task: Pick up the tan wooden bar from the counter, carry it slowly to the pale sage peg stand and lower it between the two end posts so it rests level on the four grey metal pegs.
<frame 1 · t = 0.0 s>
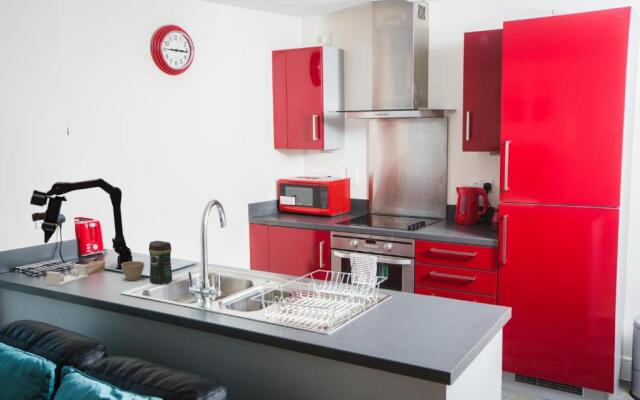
hand: (46, 241, 282), 15 cm above the counter, tool pointing down, fingers open, 9 cm apart
coffee jar: (161, 282, 270), on the counter
stand: (67, 280, 272), on the counter
tan wooden bar: (92, 273, 287), on the counter
flower pot: (133, 279, 275), on the counter
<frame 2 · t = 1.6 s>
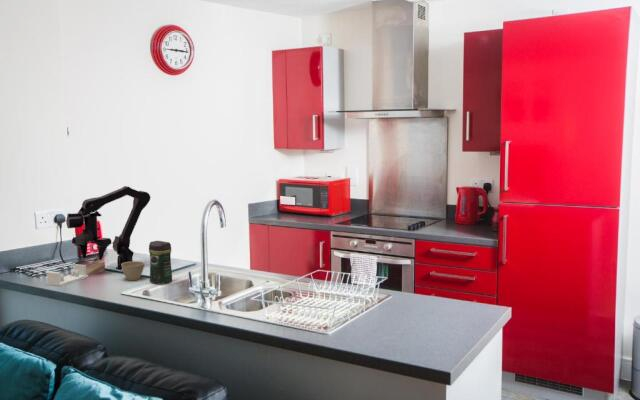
hand: (92, 258, 286), 7 cm above the counter, tool pointing down, fingers open, 9 cm apart
nothing on the counter moved.
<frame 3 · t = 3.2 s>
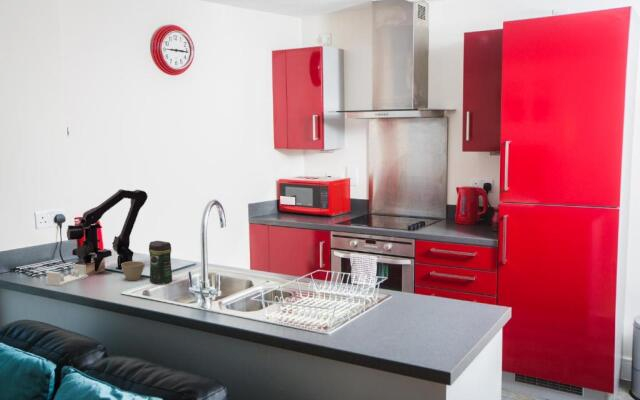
hand: (92, 270, 287), 1 cm above the counter, tool pointing down, fingers closed on tan wooden bar, 4 cm apart
tan wooden bar: (92, 272, 287), on the counter, touching gripper
everything else where it was.
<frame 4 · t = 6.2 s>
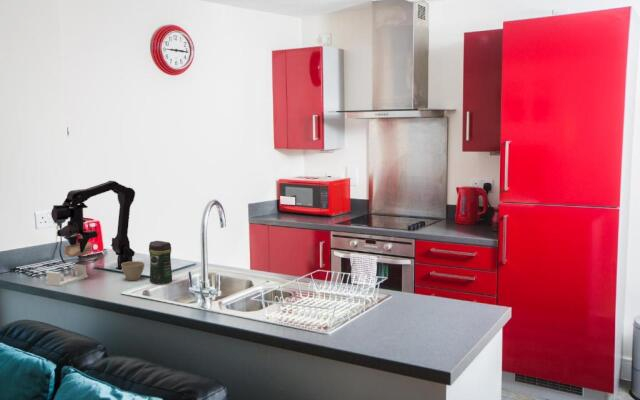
hand: (78, 252, 277), 12 cm above the counter, tool pointing down, fingers closed on tan wooden bar, 4 cm apart
tan wooden bar: (78, 254, 277), point 11 cm above the counter, touching gripper
everything else where it was.
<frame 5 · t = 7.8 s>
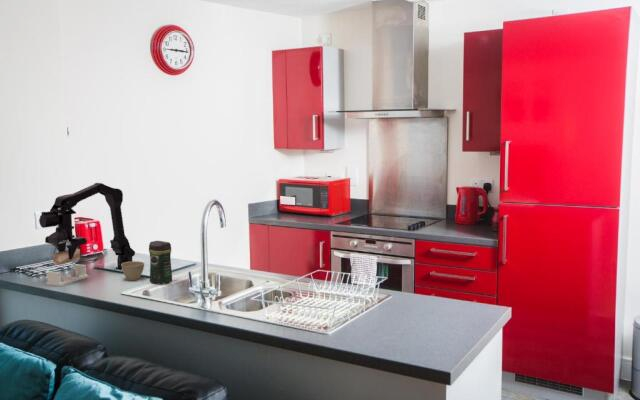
hand: (66, 259, 271), 10 cm above the counter, tool pointing down, fingers closed on tan wooden bar, 4 cm apart
tan wooden bar: (66, 261, 271), point 9 cm above the counter, touching gripper
everything else where it was.
when the fingers open (6 cm above the counter, at t = 9.3 s): tan wooden bar stays where it is, resting on stand.
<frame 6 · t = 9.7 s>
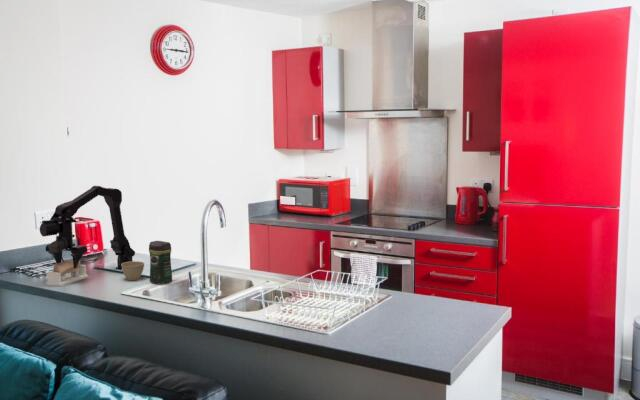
hand: (67, 267, 271), 6 cm above the counter, tool pointing down, fingers open, 9 cm apart
tan wooden bar: (67, 271, 271), point 4 cm above the counter, touching stand
everything else where it was.
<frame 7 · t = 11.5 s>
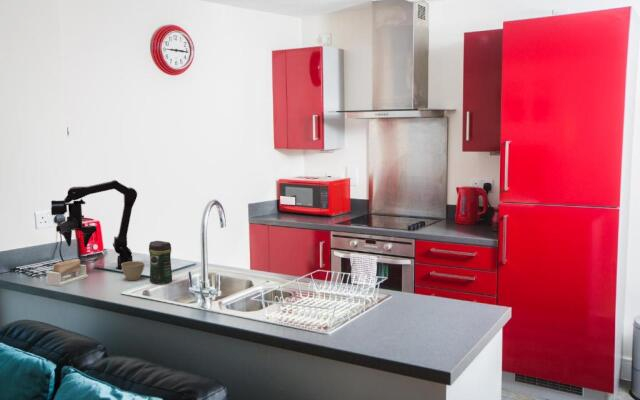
hand: (77, 246, 286), 12 cm above the counter, tool pointing down, fingers open, 9 cm apart
nothing on the counter moved.
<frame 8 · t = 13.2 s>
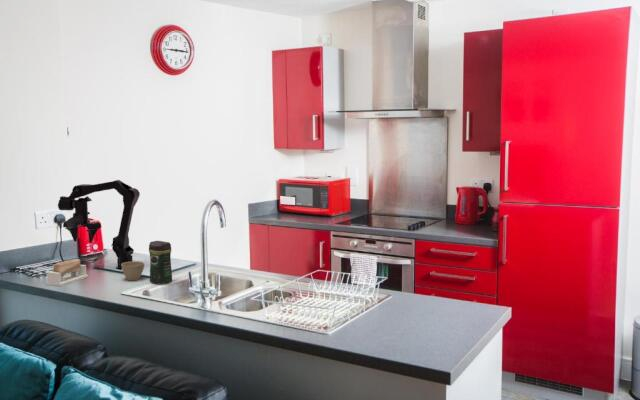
hand: (82, 242, 296), 12 cm above the counter, tool pointing down, fingers open, 9 cm apart
nothing on the counter moved.
at the end: tan wooden bar 0.0 cm off-centre on the stand, point 4.0 cm above the stand's base; tan wooden bar tilted 0°; the gripper is holding nothing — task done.
